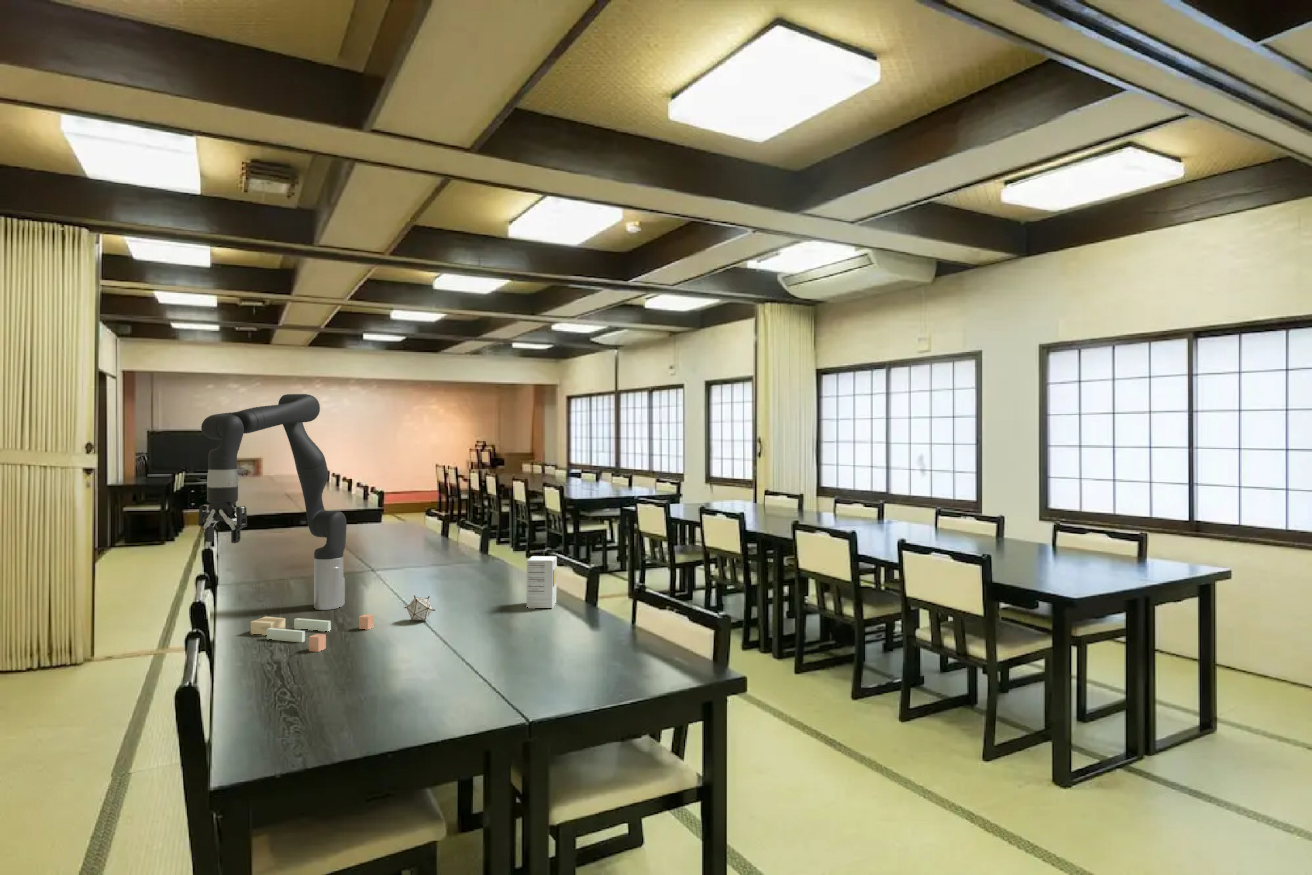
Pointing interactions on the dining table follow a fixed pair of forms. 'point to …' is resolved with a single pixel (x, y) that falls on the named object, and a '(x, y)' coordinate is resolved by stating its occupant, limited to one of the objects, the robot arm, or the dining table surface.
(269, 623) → the maple block
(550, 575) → the supplement box
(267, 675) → the dining table surface
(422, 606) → the game die
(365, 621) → the gate posts
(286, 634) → the white blocks
